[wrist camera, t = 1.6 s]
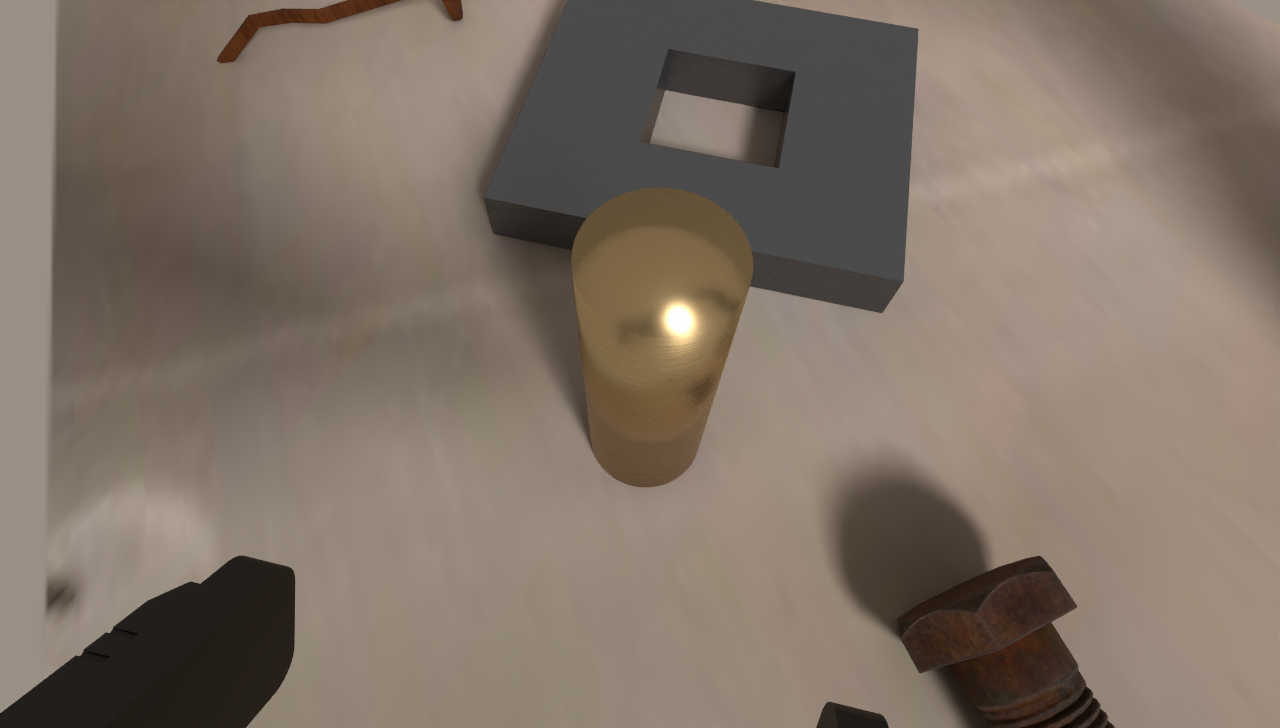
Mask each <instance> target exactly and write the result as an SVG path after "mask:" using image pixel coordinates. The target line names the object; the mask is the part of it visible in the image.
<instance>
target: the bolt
mask: <svg viewBox="0 0 1280 728" xmlns="http://www.w3.org/2000/svg"><path fill="white" fill-rule="evenodd" d="M1075 608H1077V605H1076V604H1075V602H1074V601H1073V599H1072V598H1071V596H1070V595H1069V593H1068V592H1067V590H1066V589H1065V587H1064V586H1063V584H1062V583H1061V581H1060V580H1059V578H1058V577H1057V575H1056V574H1055V572H1054V571H1053V570H1052V568H1051V567H1050V566H1049V565H1048V563H1047V562H1046V561H1045V560H1044V559H1043V558H1042V557H1041V556H1036V557H1031V558H1026V559H1023V560H1020V561H1017V562H1013V563H1010V564H1007V565H1004V566H1001V567H998V568H996V569H993V570H991V571H989V572H986V573H984V574H982V575H979V576H977V577H975V578H973V579H970V580H968V581H966V582H964V583H961V584H959V585H957V586H955V587H953V588H951V589H949V590H947V591H945V592H943V593H941V594H939V595H937V596H935V597H933V598H930V599H928V600H926V601H925V602H923V603H921V604H919V605H918V606H916V607H914V608H913V609H911V610H909V611H908V612H907V613H905V614H904V615H902V616H901V617H900V618H898V619H897V628H898V632H899V635H900V638H901V640H902V642H903V644H904V646H905V648H906V649H907V651H908V653H909V655H910V657H911V659H912V660H913V662H914V664H915V666H916V668H917V670H918V671H919V673H922V672H926V671H929V670H933V669H936V668H940V667H943V666H947V665H950V664H951V666H952V668H953V670H954V671H955V673H956V675H957V677H958V678H959V680H960V682H961V684H962V685H963V687H964V689H965V691H966V692H967V694H968V696H969V698H970V699H971V701H972V703H973V704H974V706H975V707H977V708H978V709H979V710H980V712H981V713H982V715H983V716H984V717H986V718H987V722H988V724H989V726H990V728H1115V727H1114V726H1113V725H1112V724H1111V723H1110V722H1109V721H1107V719H1108V716H1107V714H1106V713H1105V712H1104V711H1103V710H1101V709H1100V704H1099V702H1098V701H1097V699H1095V698H1093V692H1092V691H1091V690H1090V689H1089V688H1088V687H1086V683H1085V680H1084V679H1083V677H1082V675H1081V674H1080V672H1079V671H1078V665H1077V662H1076V661H1075V659H1074V658H1073V656H1072V654H1071V653H1070V651H1069V650H1068V648H1067V646H1066V645H1065V643H1064V642H1063V640H1062V639H1061V637H1060V635H1059V634H1058V632H1057V631H1056V629H1055V628H1054V626H1053V624H1052V623H1051V622H1052V621H1054V620H1056V619H1058V618H1059V617H1061V616H1063V615H1065V614H1067V613H1068V612H1070V611H1072V610H1074V609H1075Z"/></svg>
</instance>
